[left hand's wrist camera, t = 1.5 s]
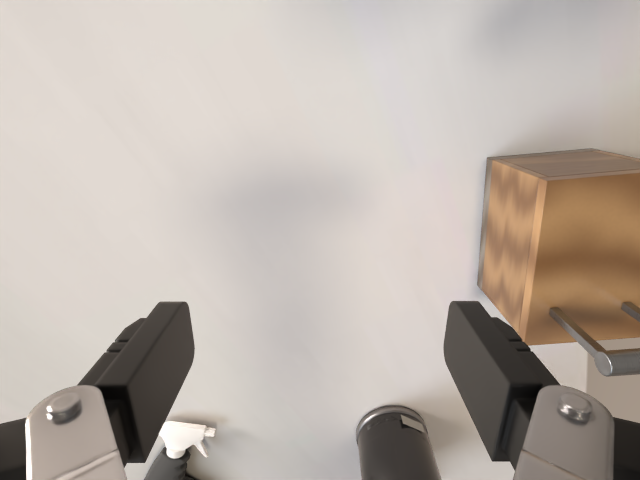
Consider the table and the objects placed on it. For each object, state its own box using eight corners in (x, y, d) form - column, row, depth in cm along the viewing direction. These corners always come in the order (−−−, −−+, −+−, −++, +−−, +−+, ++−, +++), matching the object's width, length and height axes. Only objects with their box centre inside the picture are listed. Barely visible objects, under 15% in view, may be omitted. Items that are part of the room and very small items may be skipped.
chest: (568, 277, 42) (632, 325, 33) (477, 285, 42) (517, 334, 34) (591, 148, 37) (675, 165, 28) (487, 157, 37) (538, 177, 28)
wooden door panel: (631, 330, 34) (727, 402, 26) (517, 338, 34) (577, 413, 26) (675, 166, 28) (813, 194, 20) (538, 177, 28) (622, 210, 21)
